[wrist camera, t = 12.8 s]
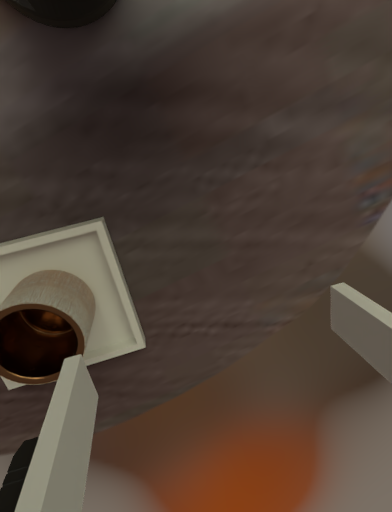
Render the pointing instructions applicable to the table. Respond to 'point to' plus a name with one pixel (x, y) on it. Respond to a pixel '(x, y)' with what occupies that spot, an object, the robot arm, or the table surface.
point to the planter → (44, 326)
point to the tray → (87, 269)
